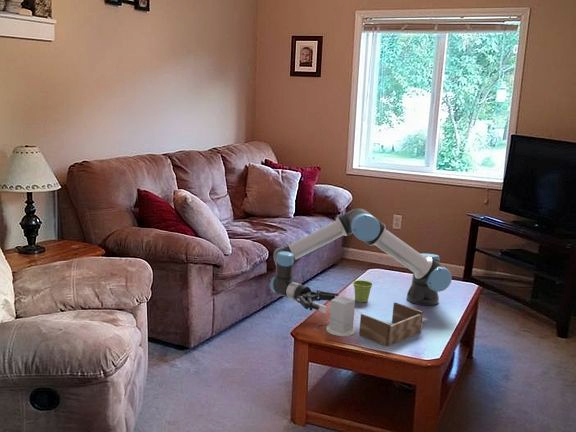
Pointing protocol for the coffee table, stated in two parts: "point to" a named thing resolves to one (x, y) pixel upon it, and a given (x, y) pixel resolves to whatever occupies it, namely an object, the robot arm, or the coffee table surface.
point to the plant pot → (362, 290)
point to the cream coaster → (339, 332)
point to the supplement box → (342, 314)
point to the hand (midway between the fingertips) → (336, 306)
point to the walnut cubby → (392, 326)
